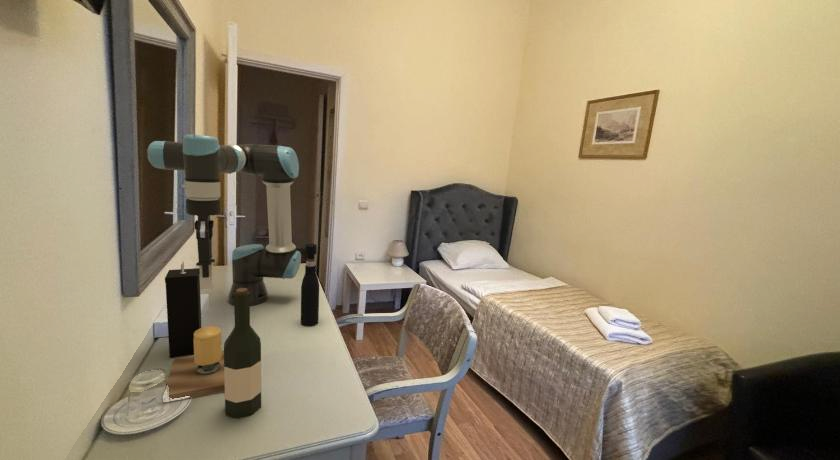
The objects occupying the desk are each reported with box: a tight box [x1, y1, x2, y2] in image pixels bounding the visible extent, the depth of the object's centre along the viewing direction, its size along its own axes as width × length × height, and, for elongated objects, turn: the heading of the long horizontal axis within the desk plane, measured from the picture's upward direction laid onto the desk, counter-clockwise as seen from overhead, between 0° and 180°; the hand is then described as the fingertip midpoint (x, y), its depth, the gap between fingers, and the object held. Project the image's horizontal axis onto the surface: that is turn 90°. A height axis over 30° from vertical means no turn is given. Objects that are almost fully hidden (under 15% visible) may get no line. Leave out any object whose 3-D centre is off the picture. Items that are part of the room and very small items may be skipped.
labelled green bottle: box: [223, 288, 262, 420], centre depth 84 cm, size 8×8×30 cm
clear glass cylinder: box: [197, 362, 221, 375], centre depth 97 cm, size 6×6×10 cm
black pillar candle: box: [164, 260, 203, 359], centre depth 107 cm, size 8×8×28 cm
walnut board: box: [166, 350, 225, 399], centre depth 98 cm, size 18×18×2 cm
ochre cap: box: [193, 325, 223, 366], centre depth 96 cm, size 6×6×8 cm
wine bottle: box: [300, 243, 320, 327], centre depth 131 cm, size 6×6×30 cm
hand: (206, 287), depth 94 cm, fingers closed
